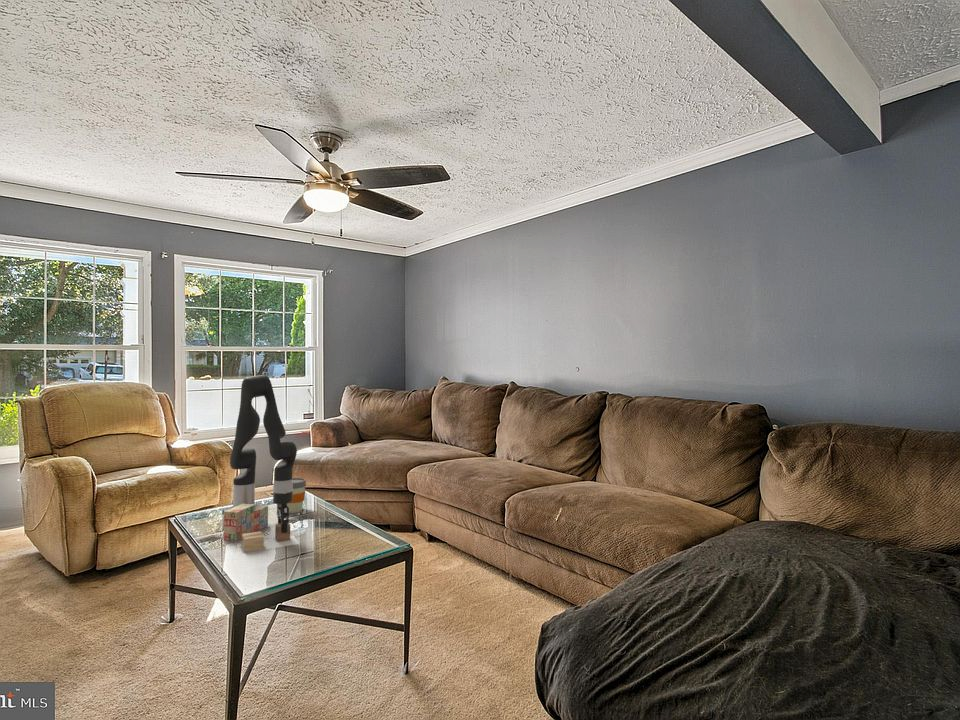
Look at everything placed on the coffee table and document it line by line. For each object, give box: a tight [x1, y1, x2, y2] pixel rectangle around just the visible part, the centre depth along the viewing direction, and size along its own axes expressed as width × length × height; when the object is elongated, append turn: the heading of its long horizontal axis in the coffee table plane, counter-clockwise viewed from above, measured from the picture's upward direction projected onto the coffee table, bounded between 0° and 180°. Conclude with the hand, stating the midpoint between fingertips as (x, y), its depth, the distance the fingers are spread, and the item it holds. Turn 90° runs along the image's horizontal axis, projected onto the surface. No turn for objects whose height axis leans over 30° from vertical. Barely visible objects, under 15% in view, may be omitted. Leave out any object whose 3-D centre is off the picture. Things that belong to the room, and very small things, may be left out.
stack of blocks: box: [222, 504, 269, 541], centre depth 219 cm, size 21×6×12 cm, turn 168°
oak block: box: [241, 530, 265, 553], centre depth 200 cm, size 7×7×5 cm
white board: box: [236, 535, 300, 554], centre depth 205 cm, size 12×22×1 cm, turn 121°
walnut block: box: [274, 522, 291, 542], centre depth 210 cm, size 5×5×6 cm
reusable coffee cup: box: [287, 477, 307, 514], centre depth 254 cm, size 13×13×15 cm
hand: (282, 529), depth 210 cm, fingers open, 8 cm apart
